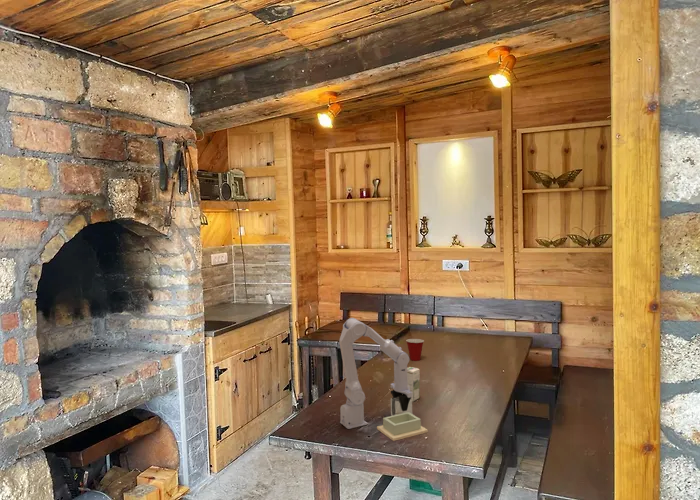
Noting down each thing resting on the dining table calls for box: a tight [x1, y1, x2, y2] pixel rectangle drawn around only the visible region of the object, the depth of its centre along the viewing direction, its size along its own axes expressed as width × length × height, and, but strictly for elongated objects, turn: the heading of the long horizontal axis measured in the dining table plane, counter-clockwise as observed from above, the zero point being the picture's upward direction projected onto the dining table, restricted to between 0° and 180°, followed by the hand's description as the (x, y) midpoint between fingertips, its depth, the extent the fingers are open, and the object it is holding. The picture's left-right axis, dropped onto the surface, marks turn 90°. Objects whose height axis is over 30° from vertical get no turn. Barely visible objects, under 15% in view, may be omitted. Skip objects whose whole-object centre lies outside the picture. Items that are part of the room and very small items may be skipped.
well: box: [376, 412, 429, 442], centre depth 211 cm, size 16×13×5 cm
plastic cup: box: [405, 338, 425, 362], centre depth 311 cm, size 11×11×12 cm
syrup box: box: [407, 366, 421, 403], centre depth 246 cm, size 6×6×14 cm
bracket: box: [390, 396, 413, 416], centre depth 226 cm, size 8×4×8 cm, turn 116°
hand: (401, 408), depth 226 cm, fingers closed on bracket, 4 cm apart
